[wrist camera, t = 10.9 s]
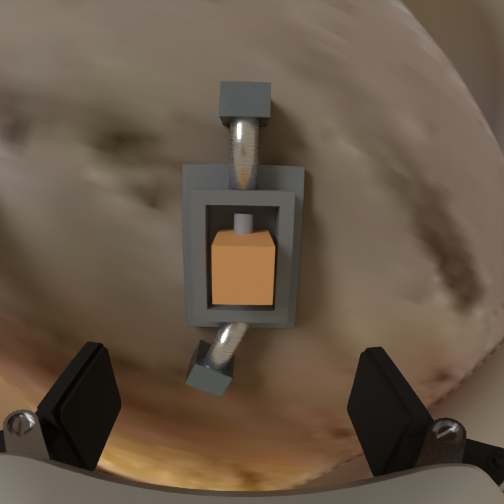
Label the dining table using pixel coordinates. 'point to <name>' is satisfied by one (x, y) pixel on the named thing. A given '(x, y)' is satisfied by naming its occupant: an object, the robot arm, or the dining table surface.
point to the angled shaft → (216, 359)
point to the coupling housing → (222, 216)
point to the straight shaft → (244, 128)
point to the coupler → (243, 264)
